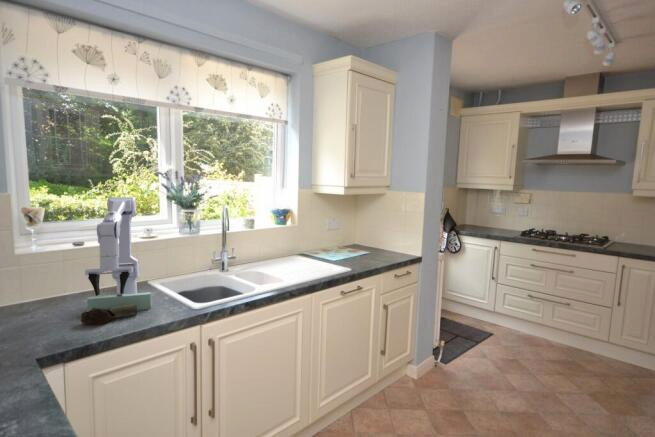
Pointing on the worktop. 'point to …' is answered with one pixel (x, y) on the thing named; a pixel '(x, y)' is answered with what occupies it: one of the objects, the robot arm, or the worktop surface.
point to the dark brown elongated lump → (107, 314)
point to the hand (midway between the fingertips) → (109, 294)
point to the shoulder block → (121, 301)
